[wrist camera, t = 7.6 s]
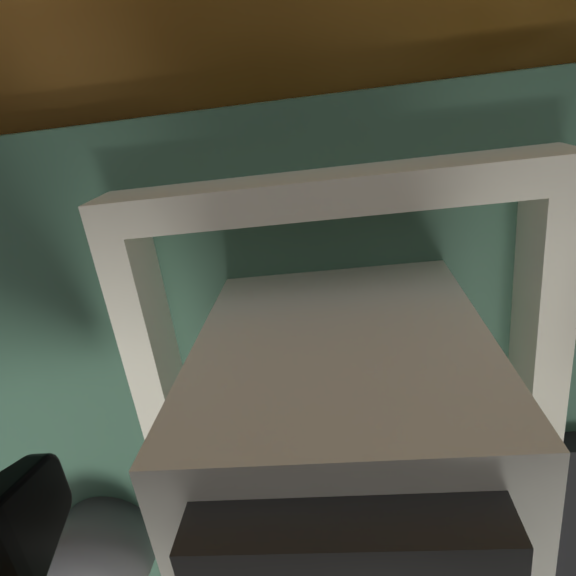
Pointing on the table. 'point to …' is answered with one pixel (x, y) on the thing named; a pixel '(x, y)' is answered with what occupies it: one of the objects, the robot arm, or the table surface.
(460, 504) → the plug
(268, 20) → the table surface
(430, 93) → the board
